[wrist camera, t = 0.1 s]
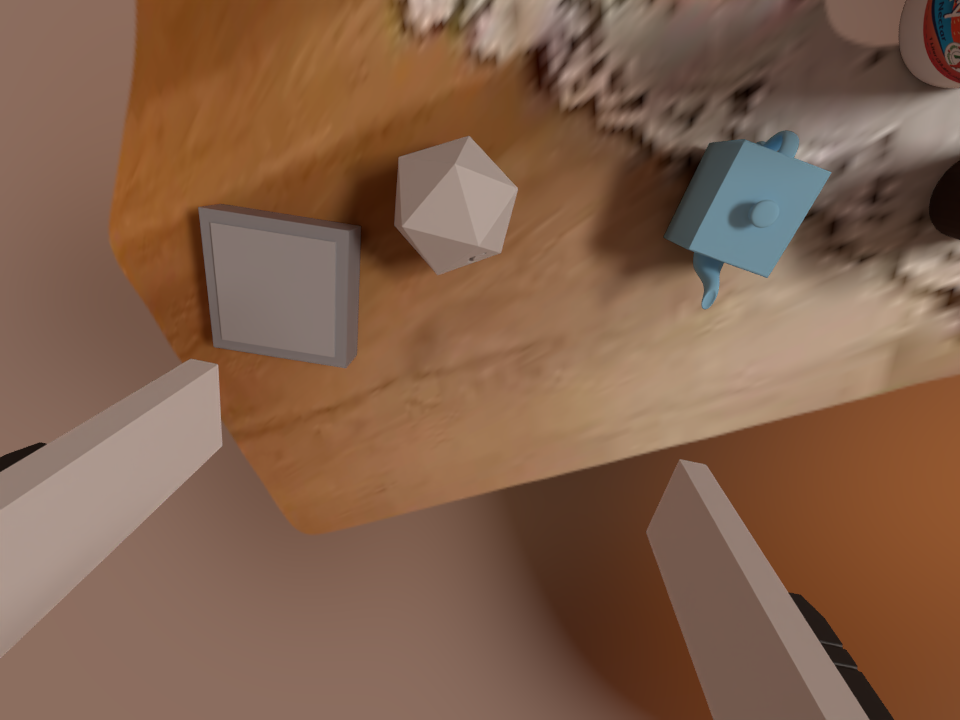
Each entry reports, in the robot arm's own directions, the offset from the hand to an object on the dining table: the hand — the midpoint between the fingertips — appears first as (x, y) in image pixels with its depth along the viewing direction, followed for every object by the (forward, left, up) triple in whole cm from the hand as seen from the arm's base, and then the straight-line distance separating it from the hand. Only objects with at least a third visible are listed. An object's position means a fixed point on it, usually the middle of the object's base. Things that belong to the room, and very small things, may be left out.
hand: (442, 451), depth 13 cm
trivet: (+5, -17, -28) cm, 33 cm away
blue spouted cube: (-6, +17, -28) cm, 33 cm away
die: (-4, -3, -28) cm, 28 cm away
